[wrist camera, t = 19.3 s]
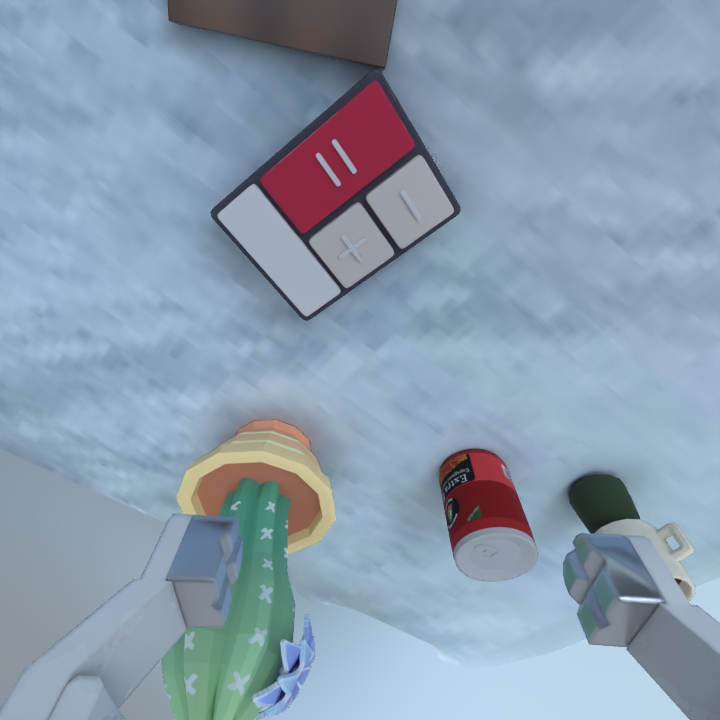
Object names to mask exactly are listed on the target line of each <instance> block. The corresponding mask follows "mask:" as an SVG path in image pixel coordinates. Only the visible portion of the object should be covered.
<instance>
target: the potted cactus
mask: <svg viewBox="0 0 720 720" xmlns="http://www.w3.org/2000/svg"><path fill="white" fill-rule="evenodd" d="M176 499H177V501H178V503H179V506H180V508H181V510H182V512H183V514H190V515H204V516H218V517H233V518H238V519H239V524H240V529H239V532H238V536H239V537H240V538H242V543H243V556H242V563H241V569H240V572H239V576H238V580H237V581H236V582H235V583H234V584H233V585H232V586H230V587H231V592H232V598H233V599H232V602H231V606H230V609H229V613H228V617H227V620H226V624H225V627H224V628H208V627H186V628H187V630H186V631H185V632H184V634H183V635H182V636H181V637H180V638H179V639H178V640H177V642H176V643H175V644H174V645H173V646H172V647H171V649H170V650H169V651H168V652H167V653H166V654H165V656H164V657H163V658H162V671H163V681H164V685H165V689H166V692H167V695H168V699H169V702H170V706H171V709H172V713H173V716H174V720H259V719H261V718H264V717H265V716H267V717H269V716H274V715H278V714H279V713H281V712H283V711H285V710H286V709H287V708H289V706H290V705H291V703H292V702H293V701H294V699H295V698H296V696H297V695H298V693H299V690H300V688H301V687H302V686H303V684H304V682H305V680H306V678H307V675H308V673H309V671H310V669H311V667H312V666H311V665H312V663H313V661H314V657H315V642H314V636H313V635H312V628H311V622H310V616H309V614H305V615H304V634H303V637H302V640H301V641H300V645H298V644H293V631H294V617H295V602H294V598H293V593H292V589H291V585H290V581H289V576H288V572H287V554H292V553H294V552H297V551H299V550H301V549H304V548H306V547H308V546H311V545H313V544H315V543H318V542H320V541H321V540H322V538H323V537H324V536H325V534H326V533H327V531H328V530H329V528H330V527H331V525H332V524H333V523H334V521H335V520H336V513H335V507H334V501H333V495H332V489H331V483H330V479H329V478H328V477H327V476H326V475H325V474H324V473H323V472H322V471H321V468H320V465H319V462H318V460H317V459H316V458H315V457H314V455H313V454H312V451H311V446H310V440H309V439H308V438H307V437H306V436H305V435H304V434H303V433H302V432H301V431H300V430H299V429H298V428H297V427H295V426H292V425H289V424H286V423H284V422H281V421H278V420H259V421H253V422H251V423H249V424H247V425H246V426H244V427H242V428H240V429H239V430H238V431H237V433H236V435H235V437H233V438H231V439H230V440H228V441H226V442H224V443H223V444H221V445H219V446H218V447H217V448H216V449H215V450H213V451H211V452H209V453H207V454H206V455H204V456H202V457H200V458H199V459H197V460H195V461H194V462H193V463H192V464H191V466H190V467H189V468H188V469H187V470H186V472H185V475H184V478H183V480H182V483H181V486H180V488H179V491H178V494H177V496H176ZM264 706H270V707H269V708H267V709H266V710H264V711H262V712H260V711H261V709H262V708H263V707H264Z"/></svg>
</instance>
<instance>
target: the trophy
mask: <svg viewBox="0 0 720 720" xmlns="http://www.w3.org/2000/svg"><path fill="white" fill-rule="evenodd" d="M569 500H570V504H571V506H572V507H573V509H574V510H575V512H576V513H577V515H578V516H579V518H580V519H581V521H582V522H583V523H584V525H585V526H586V528H587V529H588V531H589V532H590V533H591V534H620V535H630V536H645V537H646V538H648V539H649V540H650V541H651V543H652V544H653V546H654V547H655V549H656V550H657V552H658V554H659V555H660V557H661V558H662V560H663V561H664V563H665V565H666V566H667V568H668V569H669V571H670V573H671V574H672V576H673V577H674V579H675V580H676V582H677V584H678V585H679V587H680V588H681V590H682V592H683V593H684V595H685V596H686V598H687V599H688V601H690V600H691V599H692V598H693V596H694V595H695V584H694V582H693V580H692V578H691V577H690V575H689V574H688V573H687V571H686V570H685V568H684V567H683V565H682V564H681V562H680V561H681V560H683V559H685V558H687V557H689V556H690V555H692V554H693V553H694V548H693V545H692V544H691V542H690V541H689V540H688V538H687V537H686V535H685V534H684V533H683V531H682V530H681V528H680V527H679V526H678V525H677V524H675V523H670V524H667V525H665V526H663V527H662V528H660V529H657V528H656V527H654V526H653V525H651V524H650V523H648V522H645V521H643V520H640V516H639V514H638V512H637V510H636V508H635V505H634V503H633V501H632V498H631V496H630V494H629V493H628V491H627V489H626V487H625V485H624V483H623V482H622V481H621V480H620V479H619V478H616V477H612V476H609V475H595V476H591V477H587V478H583V479H582V480H580V481H579V482H578V483H576V484H575V485H574V486H573V487H572V489H571V491H570V493H569ZM671 535H673V536H674V538H675V539H676V541H677V542H678V544H679V545H680V547H679V548H677V549H675V550H674V551H673V550H672V548H671V547H670V545H669V544H668V542H667V541H666V538H668V537H670V536H671Z"/></svg>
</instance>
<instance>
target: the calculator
mask: <svg viewBox="0 0 720 720" xmlns="http://www.w3.org/2000/svg"><path fill="white" fill-rule="evenodd" d="M459 213H460V206H459V204H458V202H457V200H456V199H455V197H454V195H453V193H452V192H451V190H450V188H449V187H448V185H447V183H446V182H445V180H444V178H443V176H442V175H441V173H440V171H439V170H438V168H437V166H436V165H435V163H434V161H433V159H432V158H431V156H430V154H429V153H428V151H427V149H426V148H425V146H424V144H423V142H422V141H421V139H420V137H419V136H418V134H417V132H416V130H415V129H414V127H413V125H412V124H411V122H410V120H409V119H408V117H407V115H406V113H405V112H404V110H403V108H402V107H401V105H400V103H399V102H398V100H397V98H396V96H395V95H394V93H393V91H392V90H391V88H390V86H389V85H388V83H387V81H386V79H385V78H384V76H383V74H382V73H381V72H380V71H379V70H376V69H375V70H372V71H371V72H369V73H368V74H367V75H366V76H365V77H364V78H363V79H361V80H360V81H359V82H358V83H357V84H356V85H355V86H353V87H352V88H351V89H350V90H349V91H348V92H346V93H345V94H344V95H343V96H342V97H341V98H340V99H338V100H337V101H336V102H335V103H334V104H333V105H332V106H330V107H329V108H328V109H327V110H326V111H325V112H323V113H322V114H321V115H320V116H319V117H318V118H317V119H315V120H314V121H313V122H312V123H311V124H310V125H308V126H307V127H306V128H305V129H304V130H303V131H302V132H300V133H299V134H298V135H297V136H296V137H295V138H294V139H292V140H291V141H290V142H289V143H288V144H287V145H285V146H284V147H283V148H282V149H281V150H280V151H279V152H277V153H276V154H275V155H274V156H273V157H272V158H271V159H269V160H268V161H267V162H266V163H265V164H264V165H262V166H261V167H260V168H259V169H258V170H257V171H256V172H254V173H253V174H252V175H251V176H250V177H249V178H248V179H246V180H245V181H244V182H243V183H242V184H241V185H239V186H238V187H237V188H236V189H235V190H234V191H233V192H231V193H230V194H229V195H228V196H227V197H226V198H224V199H223V200H222V201H221V202H220V203H219V204H218V205H216V206H215V207H214V208H213V209H212V211H211V216H212V218H213V219H214V220H215V222H216V223H217V224H218V225H219V226H220V227H221V228H222V229H223V231H224V232H225V233H226V234H227V235H228V236H229V237H230V238H231V240H232V241H233V242H234V243H235V244H236V245H237V246H238V247H239V249H240V250H241V251H242V252H243V253H244V254H245V255H246V256H247V258H248V259H249V260H250V261H251V262H252V263H253V264H254V265H255V267H256V268H257V269H258V270H259V271H260V272H261V273H262V274H263V275H264V277H265V278H266V279H267V280H268V281H269V282H270V283H271V284H272V286H273V287H274V288H275V289H276V290H277V291H278V292H279V293H280V295H281V296H282V297H283V298H284V299H285V300H286V301H287V302H288V304H289V305H290V306H291V307H292V308H293V309H294V310H295V311H296V313H297V314H298V315H299V316H300V317H301V318H302V319H303V320H306V321H307V320H310V319H311V318H313V317H314V316H316V315H317V314H319V313H320V312H321V311H323V310H324V309H326V308H327V307H328V306H330V305H331V304H333V303H334V302H335V301H337V300H338V299H340V298H341V297H343V296H344V295H345V294H347V293H348V292H350V291H351V290H352V289H354V288H355V287H357V286H358V285H360V284H361V283H362V282H364V281H365V280H367V279H368V278H369V277H371V276H372V275H374V274H375V273H376V272H378V271H379V270H381V269H382V268H384V267H385V266H386V265H388V264H389V263H391V262H392V261H393V260H395V259H396V258H398V257H399V256H400V255H402V254H403V253H405V252H406V251H408V250H409V249H410V248H412V247H413V246H415V245H416V244H417V243H419V242H420V241H422V240H423V239H424V238H426V237H427V236H429V235H430V234H432V233H433V232H434V231H436V230H437V229H439V228H440V227H441V226H443V225H444V224H446V223H447V222H449V221H450V220H451V219H453V218H454V217H456V216H457V215H458V214H459Z"/></svg>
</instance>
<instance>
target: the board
mask: <svg viewBox="0 0 720 720" xmlns="http://www.w3.org/2000/svg"><path fill="white" fill-rule="evenodd" d="M396 5H397V0H168V16H169V21H171V22H174V23H177V24H181V25H186V26H190V27H195V28H199V29H204V30H209V31H213V32H218V33H222V34H227V35H231V36H236V37H241V38H245V39H250V40H254V41H259V42H263V43H268V44H272V45H277V46H282V47H286V48H291V49H295V50H300V51H304V52H309V53H313V54H318V55H323V56H327V57H332V58H336V59H341V60H345V61H350V62H355V63H359V64H364V65H368V66H373V67H377V68H382V69H385V67H386V61H387V56H388V50H389V44H390V39H391V33H392V27H393V22H394V16H395V10H396Z"/></svg>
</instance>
